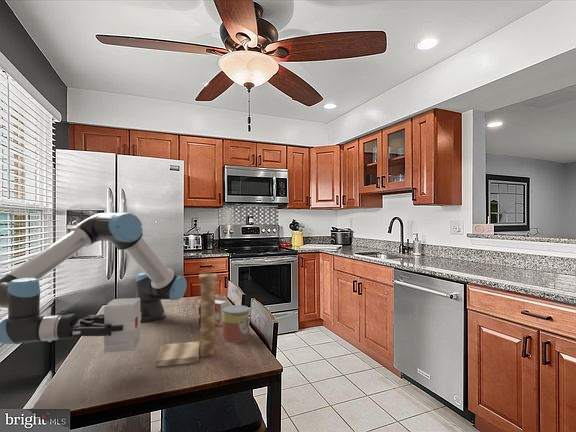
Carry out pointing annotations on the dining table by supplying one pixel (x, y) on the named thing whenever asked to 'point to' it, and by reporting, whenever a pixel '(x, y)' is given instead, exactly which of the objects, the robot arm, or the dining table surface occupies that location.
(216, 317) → the small box
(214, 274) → the oak post
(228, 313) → the canned food
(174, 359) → the maple pad
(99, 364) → the dining table surface
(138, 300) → the supplement box
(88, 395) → the dining table surface
